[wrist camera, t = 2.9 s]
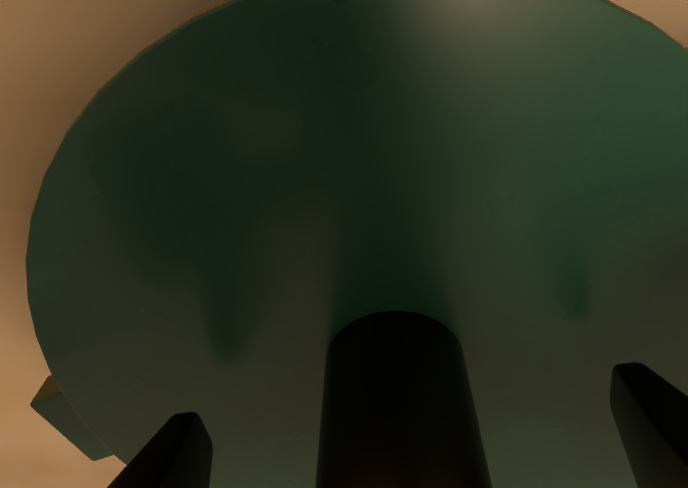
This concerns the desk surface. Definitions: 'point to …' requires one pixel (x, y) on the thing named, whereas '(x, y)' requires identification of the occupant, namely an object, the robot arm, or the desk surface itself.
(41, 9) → the desk surface
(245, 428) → the lid
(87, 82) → the desk surface
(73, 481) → the desk surface
